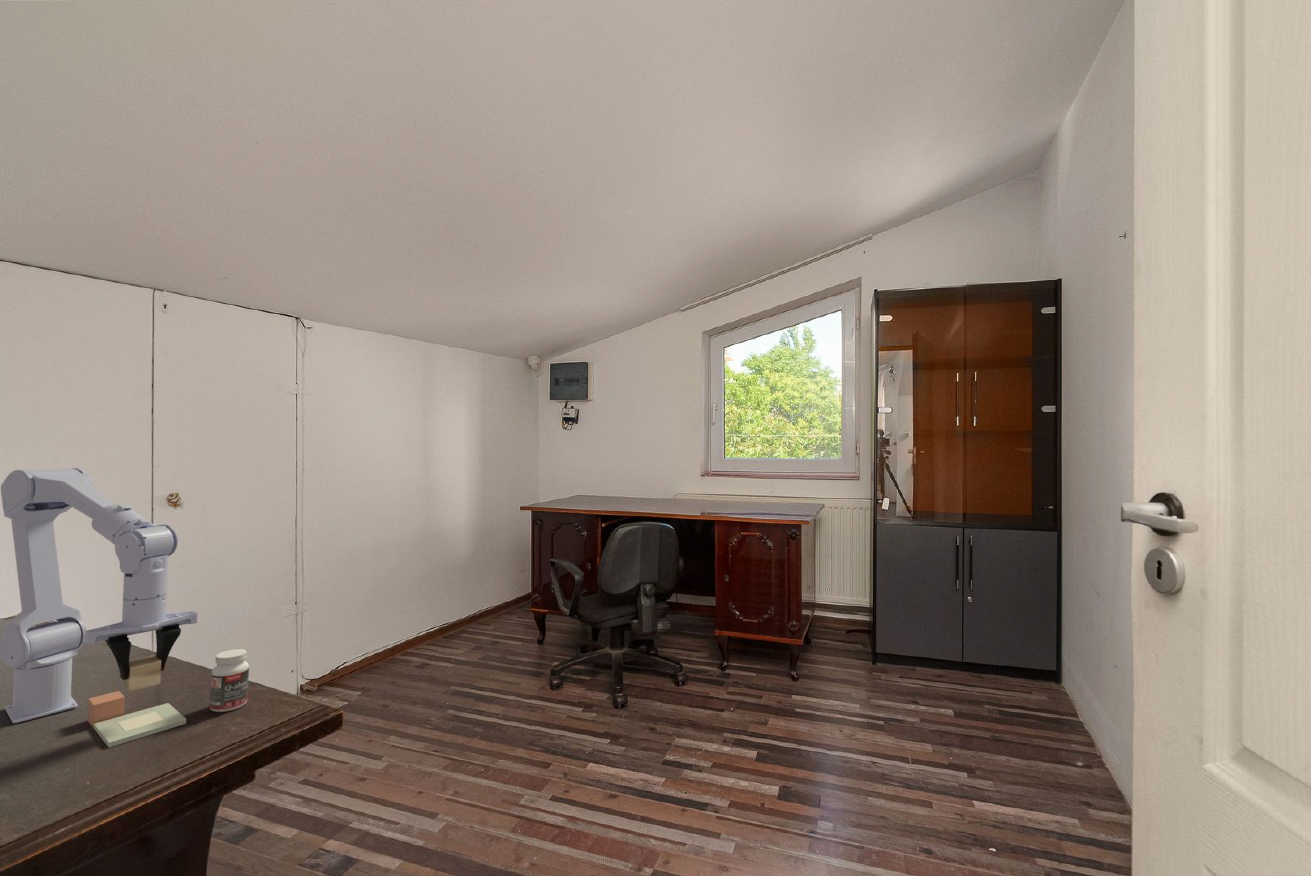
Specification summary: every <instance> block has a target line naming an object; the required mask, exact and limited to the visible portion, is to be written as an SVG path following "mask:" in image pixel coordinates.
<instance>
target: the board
mask: <svg viewBox="0 0 1311 876" xmlns="http://www.w3.org/2000/svg"><path fill="white" fill-rule="evenodd" d="M186 724H187V718H186V717H185V716H183V714H181V713H180V712H179V711H178V710H177V709H176V708H175V707H174V706H172V705H171V704H170V703H169V702H167V703H163V704H159V705H156V706H152V707H149V708H144V709H142V710H138V711H134V712H131V713H127V714H124V715H123V716H120V717H116V718H113V719H109V720H106V721H102V722H99V723H95V724H94V728H93V729H94V731H95V732H96V733H97V734H98V736H99V737H100V738H101V740H102V741H103V742H104V744H105V745H106V746H107V747H108V748H112V747H115V746H119V745H121V744H125V743H129V742H131V741H136V740H138V739H140V738H141V739H142V738H144V737H147V736H151V735H153V734H157V733H160V732H164V731H167V730H170V729H174V728H176V727H179V726H184V725H186Z"/></svg>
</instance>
